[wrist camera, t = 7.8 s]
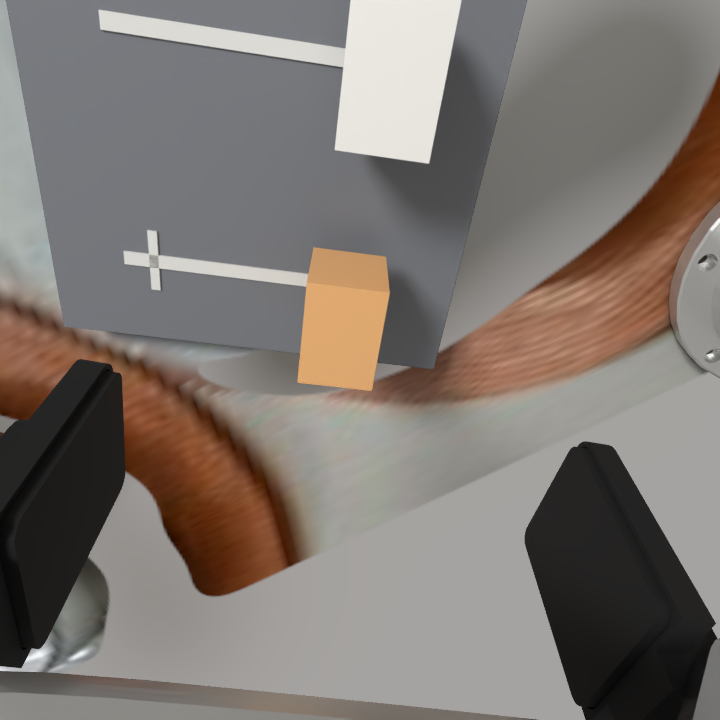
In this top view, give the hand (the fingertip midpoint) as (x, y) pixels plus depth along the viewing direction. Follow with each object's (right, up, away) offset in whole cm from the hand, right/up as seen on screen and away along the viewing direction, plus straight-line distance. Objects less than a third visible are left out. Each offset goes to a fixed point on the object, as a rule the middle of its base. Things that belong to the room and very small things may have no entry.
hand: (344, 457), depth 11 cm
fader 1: (0, +5, +13) cm, 14 cm away
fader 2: (+1, +13, +8) cm, 15 cm away
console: (-4, +11, +12) cm, 17 cm away
